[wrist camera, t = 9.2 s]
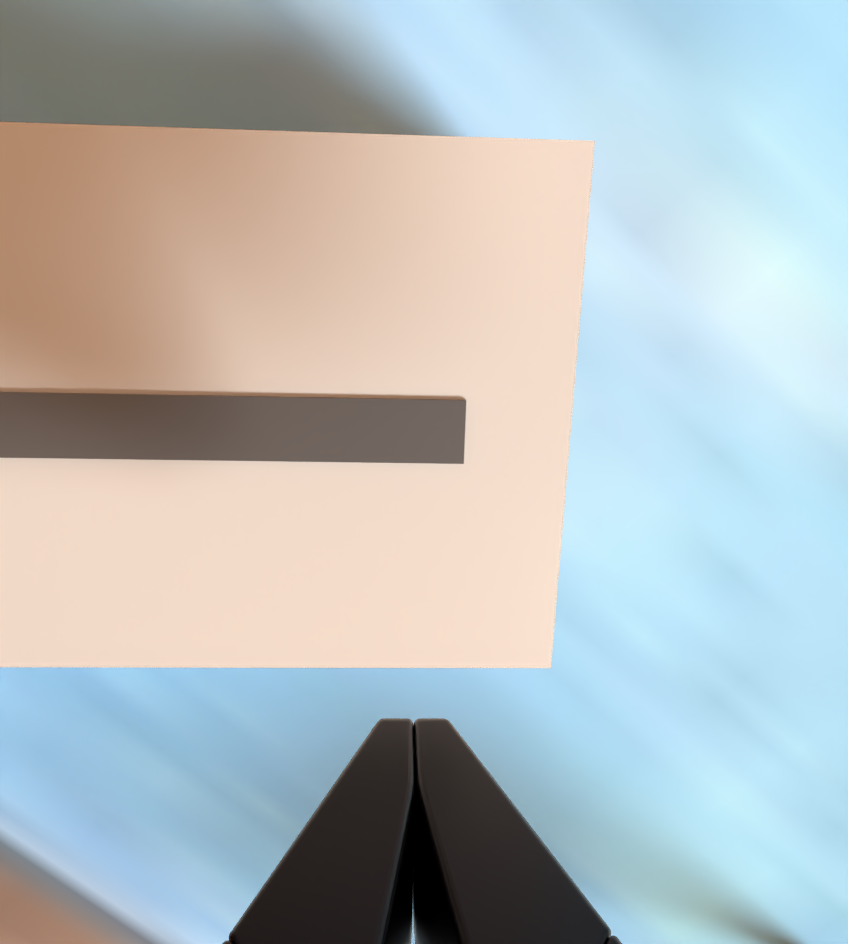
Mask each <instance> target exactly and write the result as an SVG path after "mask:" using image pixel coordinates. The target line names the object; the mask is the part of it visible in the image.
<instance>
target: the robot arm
mask: <svg viewBox="0 0 848 944" xmlns="http://www.w3.org/2000/svg"><path fill="white" fill-rule="evenodd" d="M412 908H413V916H414V934H415V944H622V943H621V942H620V941H619V939H618V938H617V937H616V936H611V930H610V928H609V927H608V926H607V924H606V923H605V922H604V920H603V919H602V918H601V917H600V915H599V914H598V913H597V911H596V910H595V909H594V907H593V906H592V905H591V904H590V902H589V901H588V900H587V898H586V897H585V896H584V895H583V893H582V892H581V891H580V889H579V888H578V887H577V886H576V884H575V883H574V882H573V880H572V879H571V878H570V877H569V875H568V874H567V873H566V871H565V870H564V869H563V867H562V866H561V865H560V864H559V862H558V861H557V860H556V858H555V857H554V856H553V855H552V853H551V852H550V851H549V849H548V848H547V847H546V846H545V844H544V843H543V842H542V840H541V839H540V838H539V837H538V835H537V834H536V833H535V831H534V830H533V829H532V827H531V826H530V825H529V824H528V822H527V821H526V820H525V818H524V817H523V816H522V815H521V813H520V812H519V811H518V809H517V808H516V807H515V806H514V804H513V803H512V802H511V800H510V799H509V798H508V797H507V795H506V794H505V793H504V791H503V790H502V789H501V787H500V786H499V785H498V784H497V782H496V781H495V780H494V778H493V777H492V776H491V775H490V773H489V772H488V771H487V769H486V768H485V767H484V766H483V764H482V763H481V762H480V760H479V759H478V758H477V756H476V755H475V754H474V753H473V751H472V750H471V749H470V747H469V746H468V745H467V744H466V742H465V741H464V740H463V738H462V737H461V736H460V735H459V733H458V732H457V731H456V729H455V728H454V727H453V726H452V724H451V723H450V722H449V721H448V720H446V719H417V720H416V721H415V722H414V727H413V722H412V721H411V720H410V719H381V720H379V721H378V722H377V724H376V725H375V726H374V728H373V729H372V731H371V732H370V734H369V735H368V736H367V738H366V739H365V741H364V742H363V744H362V745H361V746H360V748H359V749H358V751H357V752H356V754H355V755H354V756H353V758H352V759H351V761H350V762H349V764H348V765H347V766H346V768H345V769H344V771H343V772H342V774H341V775H340V777H339V778H338V779H337V781H336V782H335V784H334V785H333V787H332V788H331V789H330V791H329V792H328V794H327V795H326V797H325V798H324V799H323V801H322V802H321V804H320V805H319V807H318V808H317V809H316V811H315V812H314V814H313V815H312V817H311V818H310V820H309V821H308V822H307V824H306V825H305V827H304V828H303V830H302V831H301V832H300V834H299V835H298V837H297V838H296V840H295V841H294V842H293V844H292V845H291V847H290V848H289V850H288V851H287V853H286V854H285V855H284V857H283V858H282V860H281V861H280V863H279V864H278V865H277V867H276V868H275V870H274V871H273V873H272V874H271V875H270V877H269V878H268V880H267V881H266V883H265V884H264V885H263V887H262V888H261V890H260V891H259V893H258V894H257V896H256V897H255V898H254V900H253V901H252V903H251V904H250V906H249V907H248V908H247V910H246V911H245V913H244V914H243V916H242V917H241V918H240V920H239V921H238V923H237V924H236V926H235V927H234V929H233V930H232V931H231V933H230V935H229V941H225V942H223V944H411V934H412Z"/></svg>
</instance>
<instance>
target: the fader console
mask: <svg viewBox="0 0 848 944" xmlns="http://www.w3.org/2000/svg"><path fill="white" fill-rule="evenodd" d="M594 144H595V141H579V140H548V139H517V138H486V137H455V136H424V135H393V134H362V133H331V132H301V131H270V130H239V129H208V128H177V127H146V126H115V125H84V124H53V123H22V122H0V667H202V668H551V659H552V647H553V635H554V623H555V611H556V599H557V587H558V575H559V563H560V551H561V539H562V527H563V516H564V504H565V492H566V480H567V468H568V456H569V444H570V432H571V420H572V408H573V396H574V384H575V372H576V360H577V348H578V336H579V324H580V312H581V300H582V288H583V276H584V264H585V252H586V240H587V228H588V216H589V204H590V192H591V180H592V168H593V156H594Z"/></svg>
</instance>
